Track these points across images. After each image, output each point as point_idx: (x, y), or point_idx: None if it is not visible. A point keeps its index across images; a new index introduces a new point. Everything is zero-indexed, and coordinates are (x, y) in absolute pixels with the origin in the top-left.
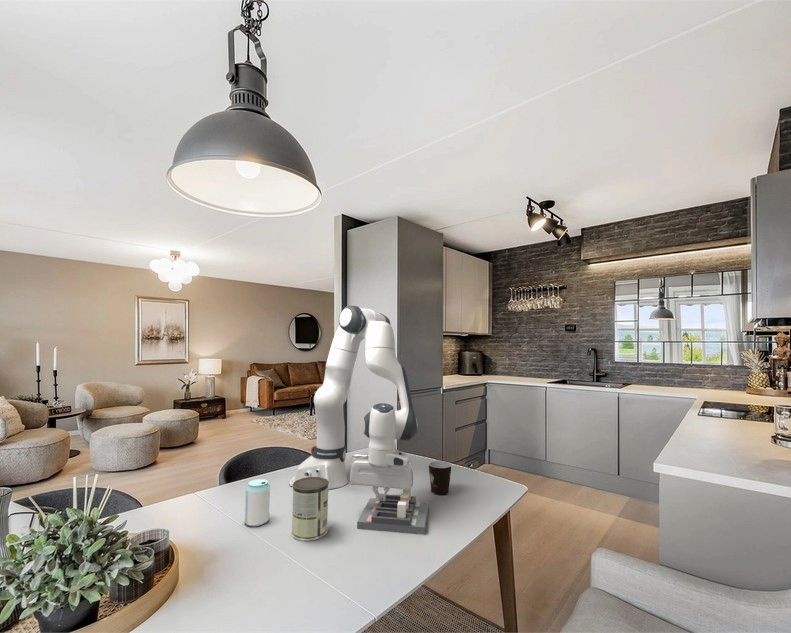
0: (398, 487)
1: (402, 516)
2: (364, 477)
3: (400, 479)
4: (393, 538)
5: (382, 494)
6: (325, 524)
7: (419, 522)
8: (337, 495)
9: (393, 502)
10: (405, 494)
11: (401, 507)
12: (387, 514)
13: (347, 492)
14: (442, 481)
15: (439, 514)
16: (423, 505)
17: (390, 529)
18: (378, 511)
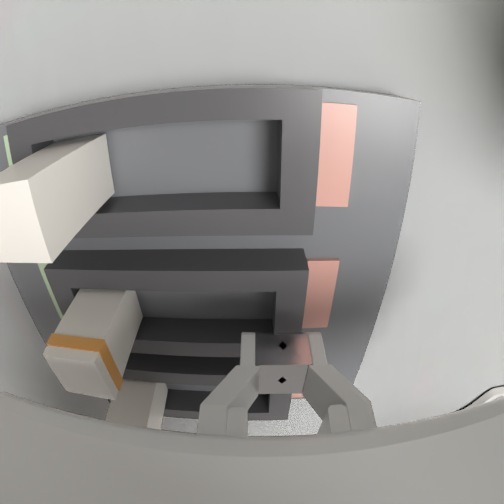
0: (71, 422)
1: (48, 150)
2: (487, 478)
3: (31, 491)
4: (128, 13)
5: (268, 384)
6: None
7: None
8: (457, 386)
9: (206, 367)
10: (78, 383)
11: (11, 174)
12: (195, 204)
13: (422, 410)
14: None
15: (23, 323)
16: None
17: (159, 90)
18: (277, 216)
